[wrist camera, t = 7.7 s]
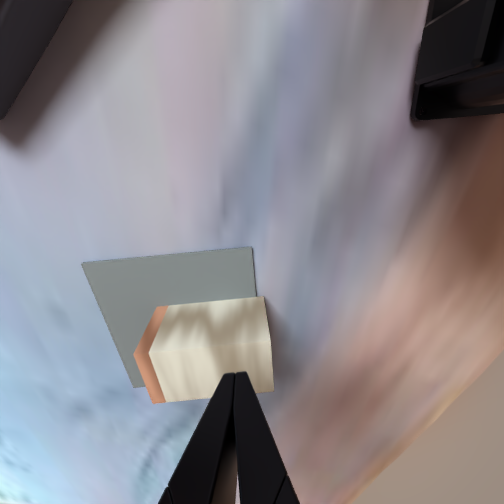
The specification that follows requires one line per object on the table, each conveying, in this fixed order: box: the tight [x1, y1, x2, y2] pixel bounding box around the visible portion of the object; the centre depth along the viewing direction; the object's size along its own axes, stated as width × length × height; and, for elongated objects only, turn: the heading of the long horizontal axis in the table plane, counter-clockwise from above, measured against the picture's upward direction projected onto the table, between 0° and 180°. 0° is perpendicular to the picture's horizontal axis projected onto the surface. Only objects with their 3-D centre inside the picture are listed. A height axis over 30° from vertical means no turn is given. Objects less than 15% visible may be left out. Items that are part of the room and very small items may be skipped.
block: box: [133, 296, 274, 404], centre depth 19 cm, size 5×5×9 cm
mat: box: [81, 247, 256, 388], centre depth 22 cm, size 13×14×1 cm
